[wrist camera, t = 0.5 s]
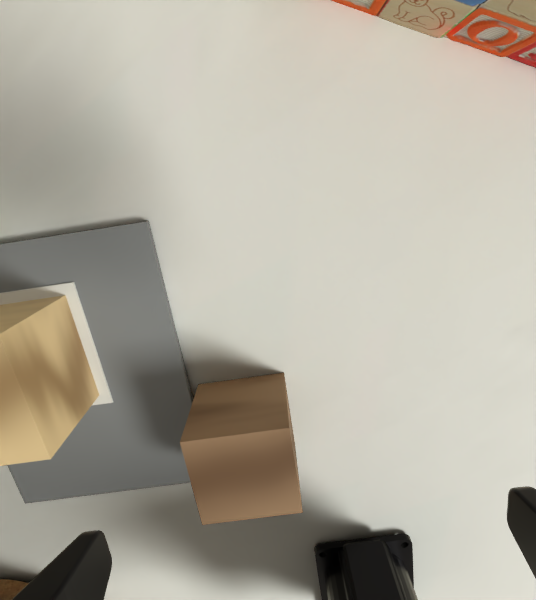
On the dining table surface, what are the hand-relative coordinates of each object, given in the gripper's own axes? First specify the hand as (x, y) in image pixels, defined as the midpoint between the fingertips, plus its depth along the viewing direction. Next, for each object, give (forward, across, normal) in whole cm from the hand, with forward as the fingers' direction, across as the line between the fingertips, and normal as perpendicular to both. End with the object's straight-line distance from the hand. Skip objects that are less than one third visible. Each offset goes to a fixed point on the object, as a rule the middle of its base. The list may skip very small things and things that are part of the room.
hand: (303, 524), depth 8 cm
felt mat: (+12, +12, +2) cm, 17 cm away
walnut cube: (+13, +3, +6) cm, 14 cm away
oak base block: (+12, +14, 0) cm, 18 cm away
